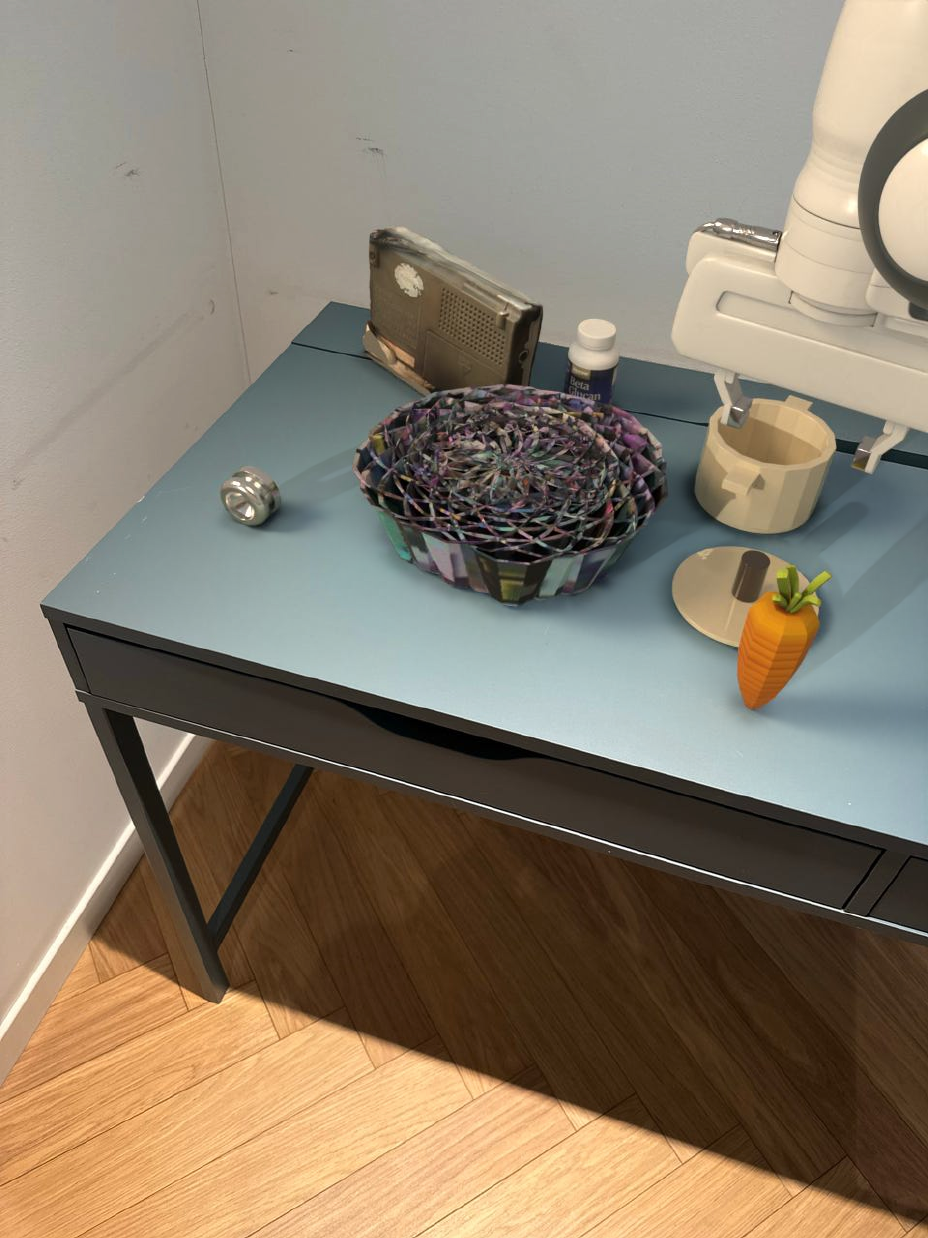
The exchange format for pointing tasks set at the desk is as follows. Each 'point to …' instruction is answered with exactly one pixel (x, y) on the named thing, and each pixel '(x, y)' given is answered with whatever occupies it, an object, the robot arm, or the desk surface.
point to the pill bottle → (593, 362)
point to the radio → (445, 317)
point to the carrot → (777, 637)
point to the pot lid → (726, 588)
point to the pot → (765, 466)
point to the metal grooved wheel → (250, 495)
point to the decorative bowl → (512, 487)
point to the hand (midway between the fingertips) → (796, 444)
